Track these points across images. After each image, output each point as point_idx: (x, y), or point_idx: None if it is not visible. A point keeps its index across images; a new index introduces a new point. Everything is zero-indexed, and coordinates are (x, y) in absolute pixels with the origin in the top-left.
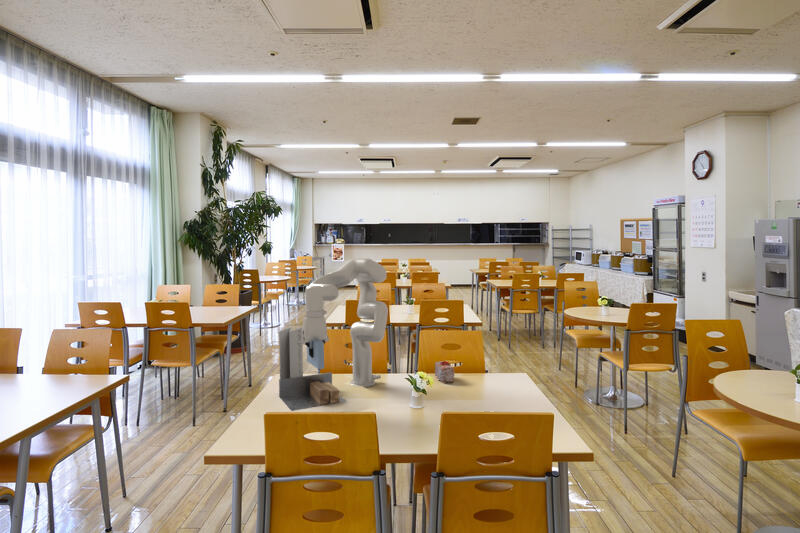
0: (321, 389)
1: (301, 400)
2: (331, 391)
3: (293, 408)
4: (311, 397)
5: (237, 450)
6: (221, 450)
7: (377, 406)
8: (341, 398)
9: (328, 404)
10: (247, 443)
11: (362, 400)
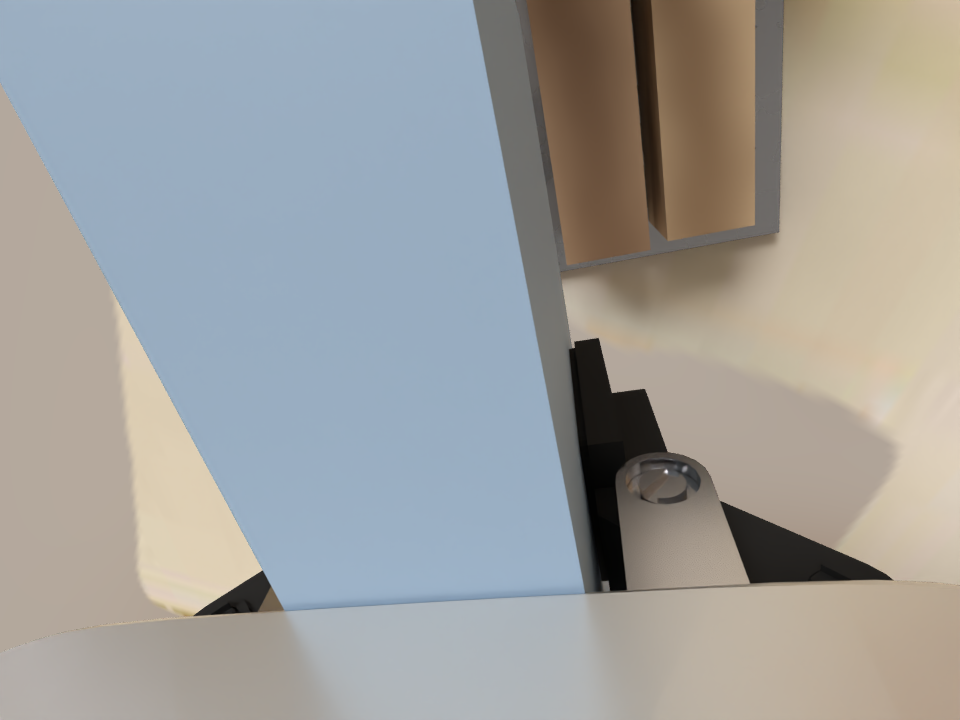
0: (589, 229)
1: None
2: (674, 239)
3: None
4: (523, 28)
5: (214, 598)
6: (160, 583)
7: (944, 348)
8: (763, 141)
9: (621, 258)
10: (232, 564)
11: (920, 184)
